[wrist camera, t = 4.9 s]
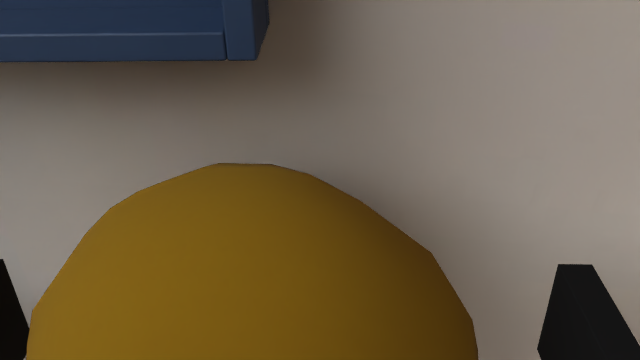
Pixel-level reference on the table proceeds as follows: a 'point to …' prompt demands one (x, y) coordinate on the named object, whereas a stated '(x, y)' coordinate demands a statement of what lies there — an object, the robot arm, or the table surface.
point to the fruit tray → (131, 30)
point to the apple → (249, 278)
